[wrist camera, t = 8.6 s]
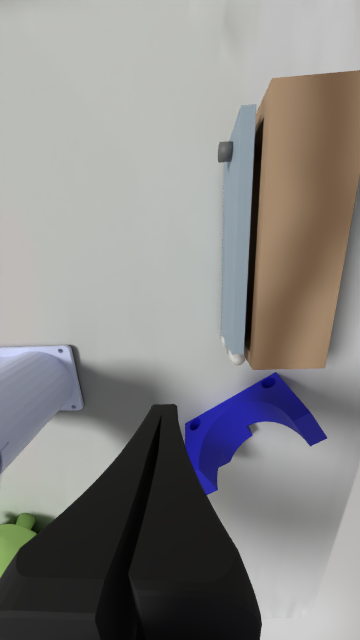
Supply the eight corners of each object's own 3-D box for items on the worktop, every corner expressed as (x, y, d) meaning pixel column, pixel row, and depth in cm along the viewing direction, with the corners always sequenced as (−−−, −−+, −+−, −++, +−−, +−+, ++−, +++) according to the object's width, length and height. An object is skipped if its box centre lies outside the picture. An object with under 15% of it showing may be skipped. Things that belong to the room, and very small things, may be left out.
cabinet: (232, 339, 19) (253, 369, 13) (238, 152, 15) (271, 78, 9) (282, 337, 19) (325, 368, 13) (303, 147, 15) (378, 68, 9)
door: (213, 341, 19) (221, 365, 14) (213, 158, 15) (226, 106, 10) (230, 341, 19) (244, 365, 14) (235, 156, 15) (258, 103, 10)
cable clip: (206, 446, 23) (213, 505, 17) (185, 422, 22) (185, 476, 17) (294, 400, 21) (335, 450, 15) (275, 371, 20) (310, 412, 14)
